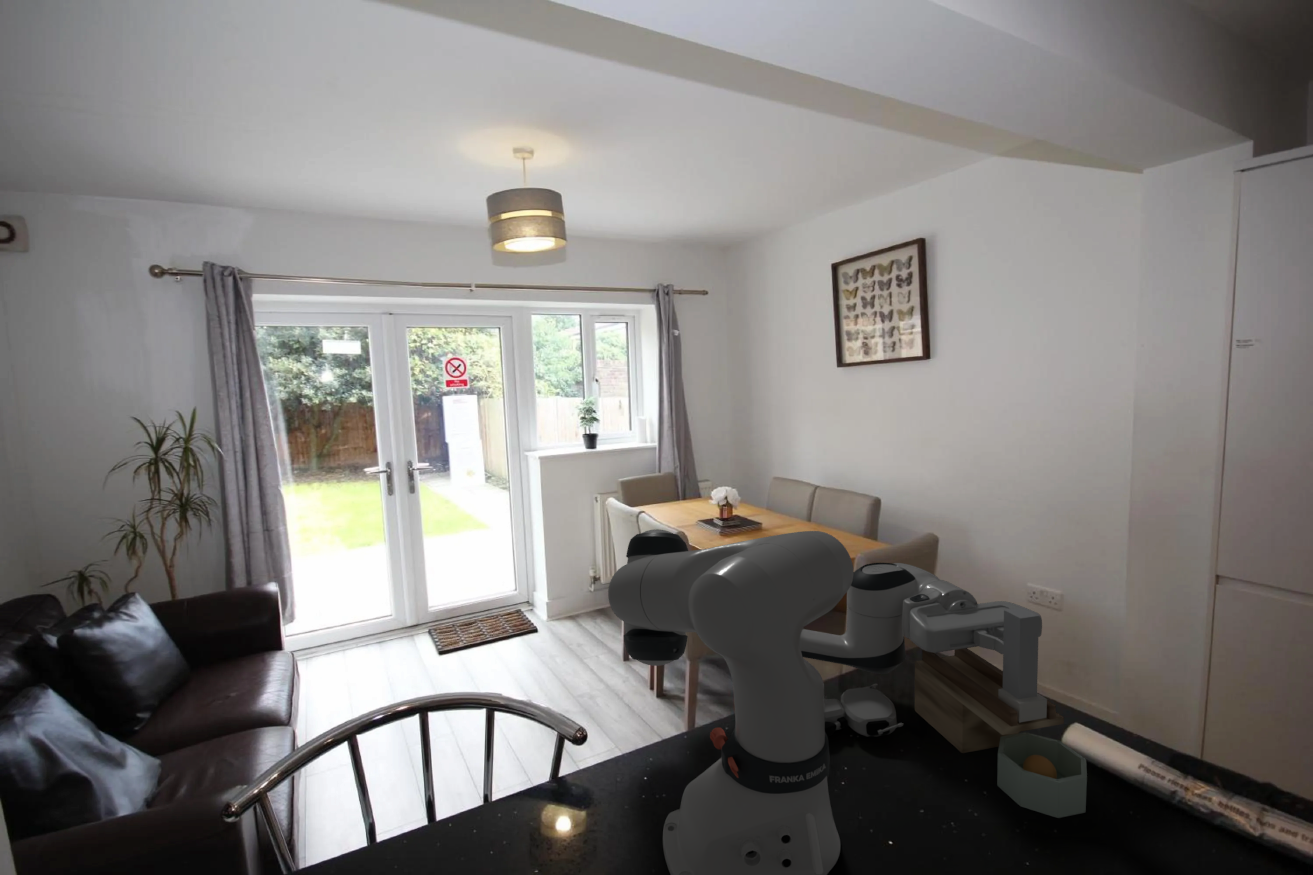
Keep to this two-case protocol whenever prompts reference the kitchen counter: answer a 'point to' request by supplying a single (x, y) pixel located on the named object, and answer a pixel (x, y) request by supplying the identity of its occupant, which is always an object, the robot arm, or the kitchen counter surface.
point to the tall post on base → (1021, 665)
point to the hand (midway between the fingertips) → (1012, 648)
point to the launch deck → (968, 701)
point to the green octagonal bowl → (1037, 789)
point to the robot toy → (861, 712)
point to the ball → (1040, 766)
